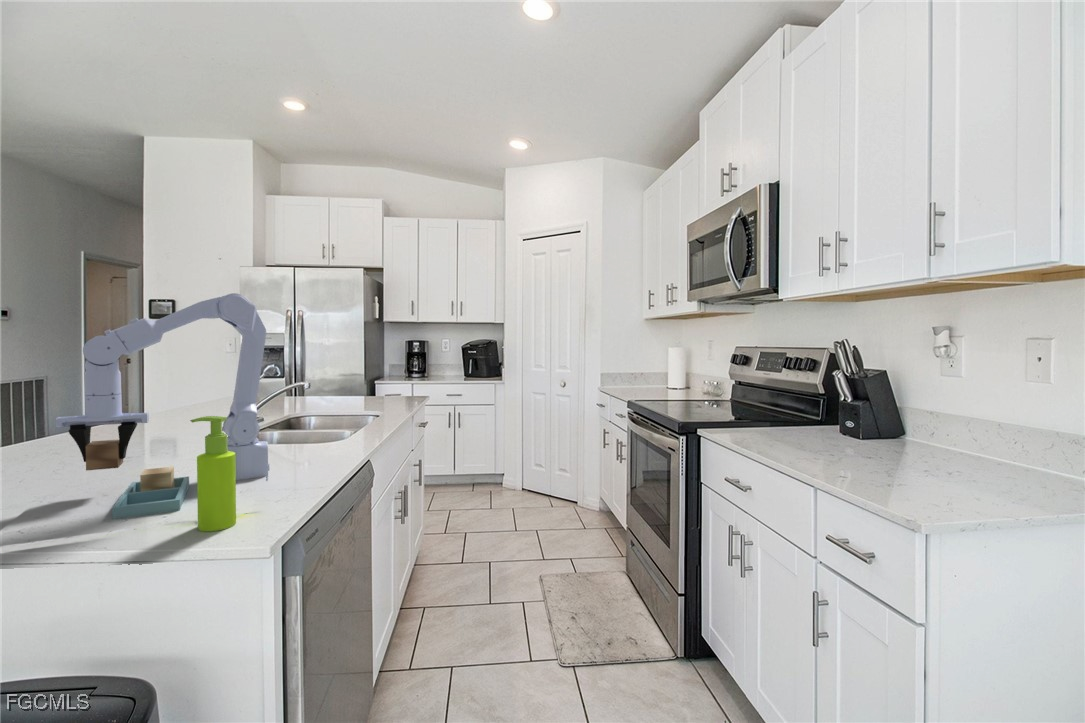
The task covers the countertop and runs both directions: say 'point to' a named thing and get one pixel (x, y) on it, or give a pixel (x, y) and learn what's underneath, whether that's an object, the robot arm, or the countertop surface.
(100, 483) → the countertop surface
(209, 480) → the soap dispenser
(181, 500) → the caddy
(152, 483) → the oak twin block
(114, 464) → the walnut block
